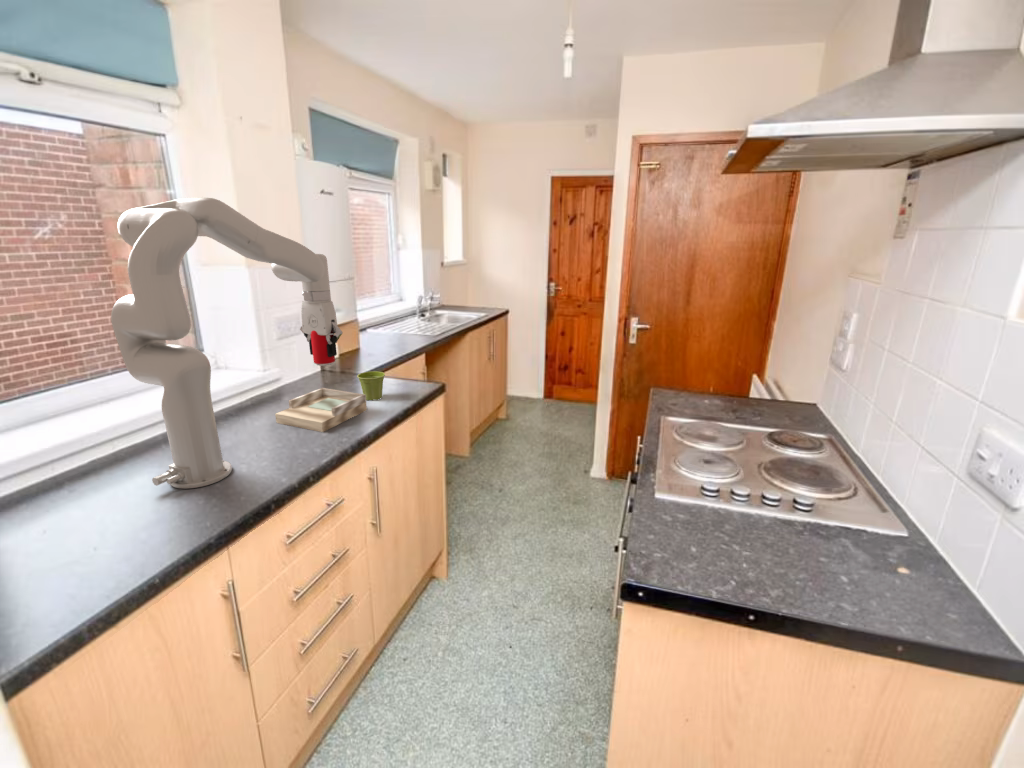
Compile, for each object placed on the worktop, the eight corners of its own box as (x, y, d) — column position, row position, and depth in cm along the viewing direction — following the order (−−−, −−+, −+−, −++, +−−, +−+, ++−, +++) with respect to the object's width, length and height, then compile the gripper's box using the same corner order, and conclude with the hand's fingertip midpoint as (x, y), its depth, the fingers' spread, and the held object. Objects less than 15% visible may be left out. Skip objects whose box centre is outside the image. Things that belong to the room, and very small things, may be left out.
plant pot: (353, 400, 165) (351, 377, 162) (369, 392, 174) (367, 370, 171) (377, 403, 162) (375, 379, 160) (391, 395, 171) (390, 372, 169)
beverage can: (338, 361, 150) (335, 324, 147) (329, 366, 145) (325, 327, 141) (320, 361, 151) (315, 323, 147) (310, 366, 145) (305, 327, 142)
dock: (322, 432, 138) (320, 414, 137) (276, 422, 145) (274, 406, 143) (366, 410, 156) (365, 394, 155) (323, 402, 163) (322, 387, 161)
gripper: (285, 296, 141) (292, 354, 147) (331, 299, 135) (337, 360, 141) (304, 293, 148) (311, 349, 153) (349, 296, 142) (354, 355, 147)
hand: (323, 354), depth 147 cm, fingers closed on beverage can, 6 cm apart
